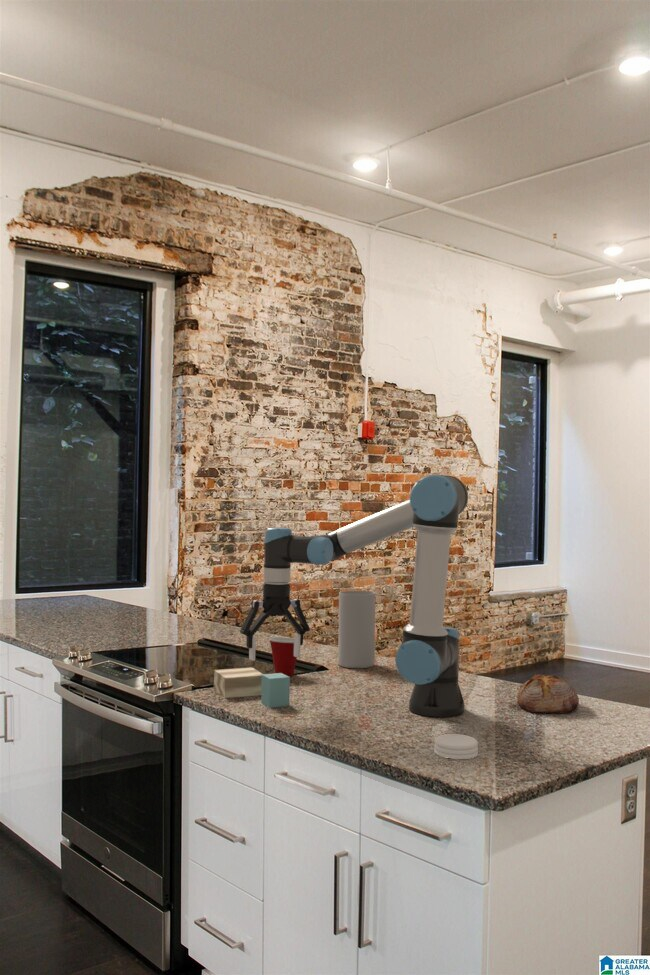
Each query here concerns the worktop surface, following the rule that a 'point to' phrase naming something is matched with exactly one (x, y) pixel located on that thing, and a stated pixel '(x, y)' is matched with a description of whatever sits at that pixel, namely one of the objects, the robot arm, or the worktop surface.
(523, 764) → the worktop surface
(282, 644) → the plastic cup
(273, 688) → the teal block
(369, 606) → the cylinder vase
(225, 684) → the birch block
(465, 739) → the coaster
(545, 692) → the bread
